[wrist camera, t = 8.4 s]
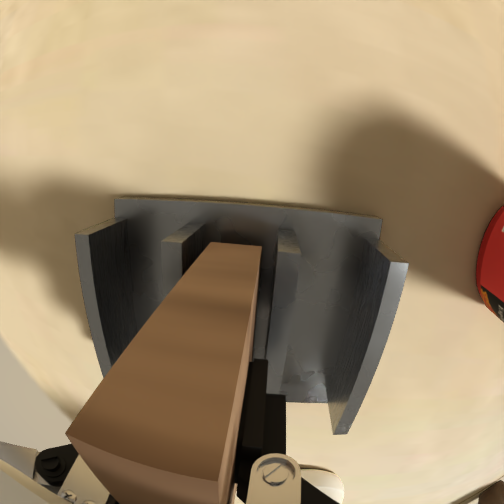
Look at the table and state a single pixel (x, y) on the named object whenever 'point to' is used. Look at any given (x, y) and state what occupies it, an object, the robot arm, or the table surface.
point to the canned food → (492, 266)
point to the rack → (270, 287)
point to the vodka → (325, 483)
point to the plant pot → (493, 494)
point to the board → (178, 389)
